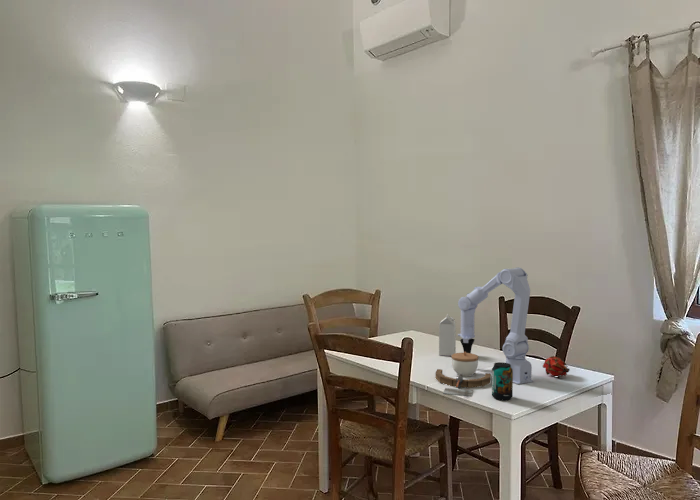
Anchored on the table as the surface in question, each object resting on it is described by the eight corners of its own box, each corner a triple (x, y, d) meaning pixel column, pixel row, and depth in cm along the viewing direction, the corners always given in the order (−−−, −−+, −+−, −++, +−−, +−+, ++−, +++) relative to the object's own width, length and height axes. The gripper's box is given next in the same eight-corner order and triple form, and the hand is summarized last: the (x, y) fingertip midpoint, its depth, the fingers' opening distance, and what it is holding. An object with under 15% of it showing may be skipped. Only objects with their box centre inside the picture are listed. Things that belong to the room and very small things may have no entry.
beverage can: (511, 402, 180) (511, 367, 179) (490, 399, 183) (491, 366, 182) (513, 396, 187) (513, 362, 186) (493, 393, 189) (493, 361, 189)
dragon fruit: (546, 375, 217) (565, 387, 206) (533, 365, 215) (552, 377, 203) (558, 358, 218) (578, 370, 206) (545, 348, 215) (565, 359, 203)
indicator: (458, 377, 202) (458, 372, 202) (464, 377, 201) (464, 372, 201) (453, 388, 188) (453, 383, 188) (460, 389, 187) (460, 383, 187)
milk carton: (438, 355, 244) (438, 315, 243) (440, 352, 251) (440, 312, 250) (454, 356, 242) (454, 316, 241) (455, 353, 249) (455, 313, 248)
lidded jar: (478, 371, 217) (479, 349, 217) (477, 379, 207) (477, 355, 206) (452, 370, 220) (452, 348, 220) (450, 377, 210) (450, 354, 210)
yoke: (437, 375, 213) (437, 369, 213) (490, 379, 206) (490, 373, 206) (428, 392, 191) (428, 385, 191) (487, 397, 185) (487, 390, 185)
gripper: (460, 321, 231) (459, 351, 231) (456, 327, 217) (455, 359, 218) (476, 321, 229) (476, 352, 229) (473, 328, 215) (473, 360, 216)
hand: (467, 356), depth 223 cm, fingers closed
